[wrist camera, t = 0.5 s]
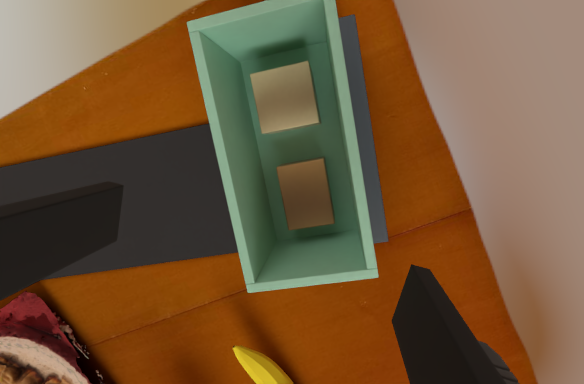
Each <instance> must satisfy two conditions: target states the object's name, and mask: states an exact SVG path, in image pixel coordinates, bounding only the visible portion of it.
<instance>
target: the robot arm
mask: <svg viewBox="0 0 584 384" xmlns="http://www.w3.org/2000/svg"><path fill="white" fill-rule="evenodd" d="M123 188H124V185H121V184H117V183H114V182H110V181H106V182H102V183H97V184H93V185H89V186H84V187H80V188H76V189H71V190H67V191H63V192H58V193H54V194H49V195H45V196H41V197H36V198H32V199H28V200H23V201H19V202H14V203H10V204H6V205H1V206H0V300H2V299H4V298H6V297H8V296H10V295H12V294H14V293H16V292H18V291H20V290H22V289H24V288H26V287H28V286H30V285H32V284H34V283H36V282H38V281H40V280H41V279H43V278H45V277H47V276H49V275H51V274H53V273H55V272H57V271H59V270H61V269H63V268H65V267H67V266H69V265H71V264H73V263H75V262H77V261H79V260H81V259H83V258H84V257H86V256H88V255H90V254H92V253H94V252H96V251H98V250H100V249H102V248H104V247H106V246H108V245H110V244H112V243H114V242H116V241H117V237H118V229H119V221H120V212H121V204H122V196H123ZM392 324H393V327H394V330H395V334H396V337H397V341H398V344H399V347H400V351H401V354H402V358H403V361H404V364H405V368H406V371H407V375H408V378H409V381H410V384H519V383H518V380H517V379H516V377H515V376H514V375H513V373H512V372H510V369H509V368H508V366H507V365H506V364H505V362H504V361H503V360H502V358H501V357H500V356H499V355H498V354H497V353H496V352H495V351H494V350H493V349H491V348H490V347H489V346H488V345H487V344H486V343H483V342H480V341H477V339H476V338H475V336H474V335H473V333H472V332H471V330H470V329H469V327H468V326H467V324H466V323H465V321H464V320H463V318H462V317H461V315H460V314H459V312H458V311H457V309H456V308H455V306H454V305H453V303H452V302H451V301H450V299H449V298H448V296H447V295H446V293H445V292H444V290H443V289H442V287H441V286H440V284H439V283H438V281H437V280H436V278H435V277H434V275H433V274H432V272H431V271H430V269H426V268H423V267H419V266H415V265H412V264H411V267H410V270H409V273H408V276H407V279H406V281H405V284H404V287H403V290H402V293H401V296H400V298H399V301H398V304H397V307H396V310H395V313H394V316H393V318H392Z"/></svg>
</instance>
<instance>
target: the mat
mask: <svg viewBox="0 0 584 384" xmlns="http://www.w3.org/2000/svg"><path fill="white" fill-rule="evenodd" d="M106 181H110V182H114V183H117V184H121V185H124V188H123V196H122V204H121V212H120V221H119V229H118V237H117V241H116V242H114V243H112V244H110V245H108V246H106V247H104V248H102V249H100V250H98V251H96V252H94V253H92V254H90V255H88V256H86V257H84V258H83V259H81V260H79V261H77V262H75V263H73V264H71V265H69V266H67V267H65V268H63V269H61V270H59V271H57V272H55V273H53V274H51V275H49V276H47V277H45V278H43V279H50V278H58V277H65V276H72V275H79V274H86V273H93V272H100V271H107V270H115V269H122V268H129V267H136V266H143V265H150V264H157V263H165V262H172V261H179V260H186V259H193V258H200V257H207V256H214V255H222V254H229V253H236V252H238V248H237V243H236V239H235V235H234V230H233V226H232V221H231V217H230V212H229V208H228V204H227V199H226V195H225V190H224V186H223V181H222V177H221V173H220V168H219V164H218V159H217V155H216V150H215V146H214V142H213V137H212V133H211V128H210V124H205V125H200V126H195V127H190V128H186V129H181V130H176V131H171V132H167V133H162V134H157V135H152V136H148V137H143V138H138V139H134V140H129V141H124V142H119V143H115V144H110V145H105V146H100V147H96V148H91V149H86V150H81V151H77V152H72V153H67V154H62V155H58V156H53V157H48V158H44V159H39V160H34V161H29V162H25V163H20V164H15V165H10V166H6V167H1V168H0V206H1V205H6V204H10V203H14V202H19V201H23V200H28V199H32V198H36V197H41V196H45V195H49V194H54V193H58V192H63V191H67V190H71V189H76V188H80V187H84V186H89V185H93V184H97V183H102V182H106ZM43 279H41V280H43Z"/></svg>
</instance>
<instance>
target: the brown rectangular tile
mask: <svg viewBox="0 0 584 384" xmlns="http://www.w3.org/2000/svg"><path fill="white" fill-rule="evenodd" d="M276 170H277V175H278V180H279V185H280V190H281V195H282V200H283V205H284V210H285V215H286V220H287V225H288V230H297V229H304V228H310V227H317V226H324V225H331V224H335V213H334V208H333V202H332V196H331V190H330V185H329V179H328V173H327V167H326V162H325V157H324V156H323V157H317V158H312V159H306V160H301V161H295V162H290V163H284V164H281V165H279V166H277V167H276Z"/></svg>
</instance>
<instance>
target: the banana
mask: <svg viewBox="0 0 584 384" xmlns="http://www.w3.org/2000/svg"><path fill="white" fill-rule="evenodd" d="M233 350H234V353H235V356H236V357H237V359H238V360H239V362H240V363H241V365H242V366H243V368H244V369H245V370H246V372H247V373H248V374H249V375H250V377H251V378H252V379H253V380H254V381H255V383H256V384H294V383H293V382H292V380H291V379H290V378H289V377H288V375H287V374H286V373H285V372H284V371H283V370H282V369H281V368H280V367H279V366H278V365H277V364H276V363H275V362H274V361H273V360H272V359H270V358H269V357H267V356H265V355H264V354H262V353H260V352H257V351H255V350H252V349H250V348H247V347H244V346H233Z"/></svg>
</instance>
